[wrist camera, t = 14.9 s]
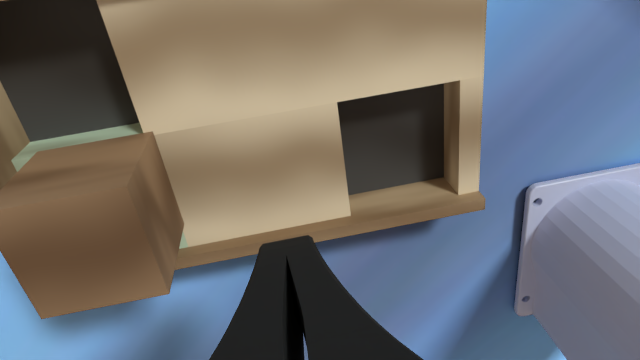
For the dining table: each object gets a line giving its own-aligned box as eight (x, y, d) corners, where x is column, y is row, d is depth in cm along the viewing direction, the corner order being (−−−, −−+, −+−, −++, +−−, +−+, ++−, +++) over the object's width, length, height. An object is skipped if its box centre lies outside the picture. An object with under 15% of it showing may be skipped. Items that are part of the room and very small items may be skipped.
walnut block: (184, 223, 20) (169, 293, 16) (81, 243, 20) (41, 319, 16) (152, 131, 18) (126, 186, 14) (37, 151, 18) (-23, 213, 14)
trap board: (461, 181, 24) (492, 218, 21) (71, 256, 23) (43, 307, 19) (466, -95, 18) (513, -101, 15) (-67, -11, 16) (-138, 1, 13)
